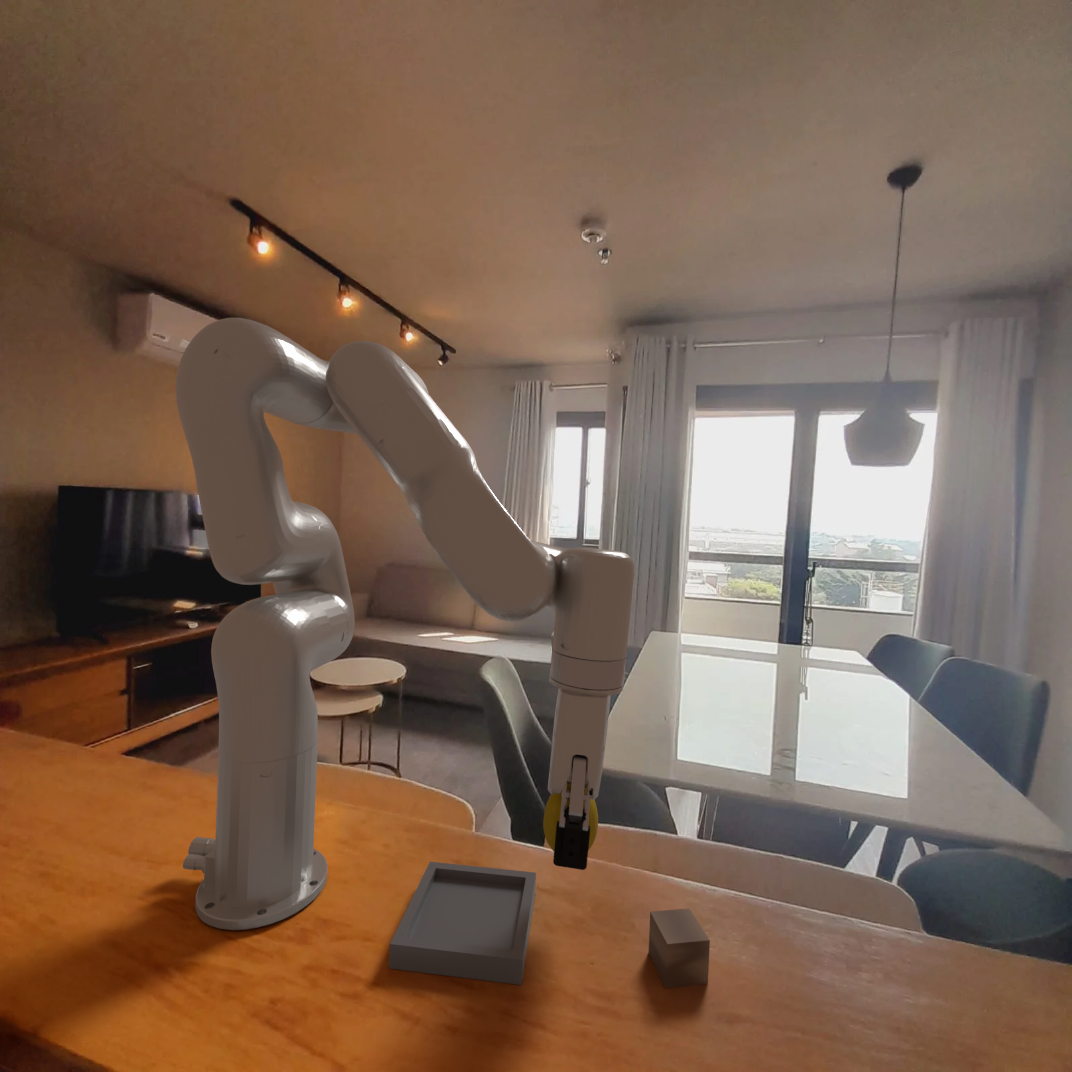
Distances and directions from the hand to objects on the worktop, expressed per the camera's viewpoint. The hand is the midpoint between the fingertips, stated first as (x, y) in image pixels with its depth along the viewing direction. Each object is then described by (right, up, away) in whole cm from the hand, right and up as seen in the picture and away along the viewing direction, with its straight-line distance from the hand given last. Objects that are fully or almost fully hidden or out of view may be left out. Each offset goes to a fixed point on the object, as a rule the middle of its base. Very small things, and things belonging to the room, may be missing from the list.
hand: (570, 844), depth 54 cm
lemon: (0, -2, 0) cm, 2 cm away
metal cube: (+10, -9, -5) cm, 14 cm away
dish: (-10, -8, -1) cm, 13 cm away
